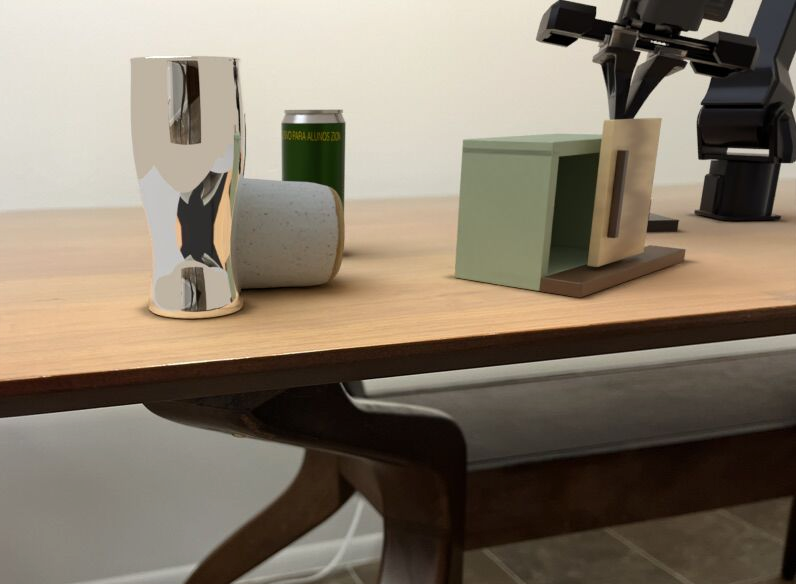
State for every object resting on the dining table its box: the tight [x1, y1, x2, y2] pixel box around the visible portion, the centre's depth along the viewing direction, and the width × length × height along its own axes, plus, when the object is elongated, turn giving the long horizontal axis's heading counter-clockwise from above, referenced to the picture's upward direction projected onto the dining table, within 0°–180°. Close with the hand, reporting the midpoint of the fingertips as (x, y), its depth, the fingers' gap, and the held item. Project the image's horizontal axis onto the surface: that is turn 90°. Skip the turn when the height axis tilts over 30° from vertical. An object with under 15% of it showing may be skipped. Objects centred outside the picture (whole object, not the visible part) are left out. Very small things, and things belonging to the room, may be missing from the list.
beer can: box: [280, 109, 347, 213], centre depth 69 cm, size 5×5×12 cm
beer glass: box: [128, 55, 247, 319], centre depth 50 cm, size 7×7×15 cm
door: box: [587, 117, 663, 267], centre depth 59 cm, size 8×1×10 cm, turn 135°
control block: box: [646, 201, 680, 233], centre depth 84 cm, size 10×7×3 cm
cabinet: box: [454, 133, 687, 299], centre depth 62 cm, size 18×10×10 cm, turn 135°
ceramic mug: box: [235, 177, 346, 290], centre depth 59 cm, size 11×8×8 cm
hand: (616, 135), depth 77 cm, fingers closed
